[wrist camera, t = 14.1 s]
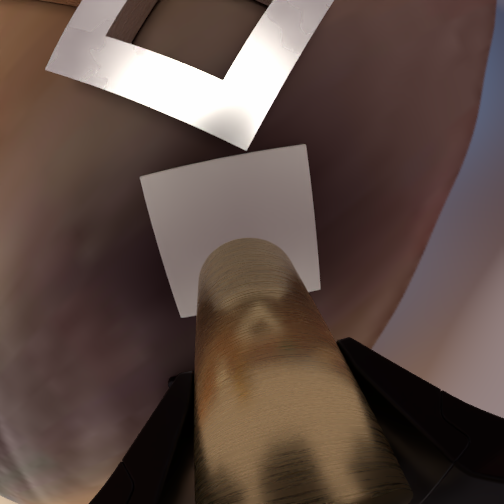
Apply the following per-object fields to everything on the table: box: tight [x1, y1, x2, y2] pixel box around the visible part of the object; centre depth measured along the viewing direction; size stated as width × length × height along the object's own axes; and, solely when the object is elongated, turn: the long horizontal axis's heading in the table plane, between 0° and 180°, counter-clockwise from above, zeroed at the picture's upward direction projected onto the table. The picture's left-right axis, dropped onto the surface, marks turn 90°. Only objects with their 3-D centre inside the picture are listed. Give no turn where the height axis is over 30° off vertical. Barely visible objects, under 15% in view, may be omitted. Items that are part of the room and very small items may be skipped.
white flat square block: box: [140, 144, 321, 318], centre depth 18 cm, size 9×9×1 cm
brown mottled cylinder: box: [194, 238, 413, 504], centre depth 8 cm, size 4×4×10 cm
